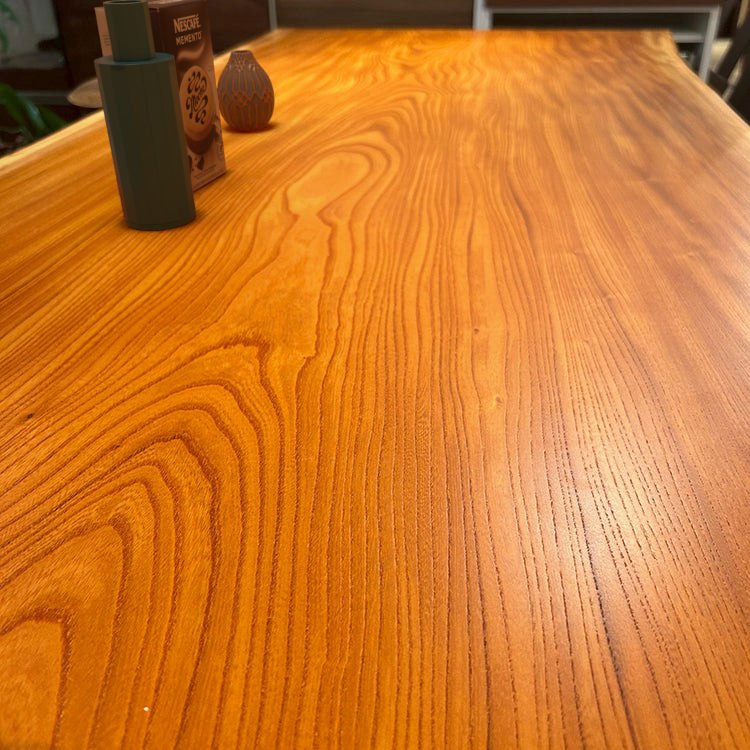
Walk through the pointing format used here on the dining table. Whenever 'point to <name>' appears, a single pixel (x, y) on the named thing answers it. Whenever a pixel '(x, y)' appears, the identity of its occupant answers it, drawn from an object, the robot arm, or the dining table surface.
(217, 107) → the coffee box
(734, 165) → the dining table surface
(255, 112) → the vase
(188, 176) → the bottle
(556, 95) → the dining table surface
